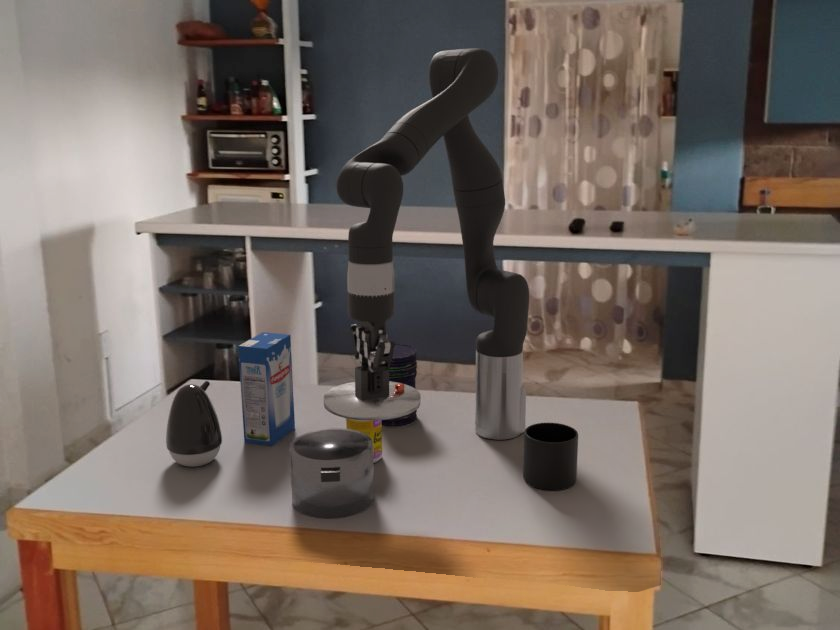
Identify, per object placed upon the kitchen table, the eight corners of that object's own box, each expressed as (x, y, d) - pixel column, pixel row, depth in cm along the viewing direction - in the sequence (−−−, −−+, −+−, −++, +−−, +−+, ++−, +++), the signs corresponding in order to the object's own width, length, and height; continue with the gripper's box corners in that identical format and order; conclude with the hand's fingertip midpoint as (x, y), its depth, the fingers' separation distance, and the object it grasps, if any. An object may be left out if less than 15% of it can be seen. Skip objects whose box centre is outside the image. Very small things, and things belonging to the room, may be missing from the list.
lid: (396, 382, 157) (395, 348, 156) (437, 410, 144) (437, 374, 142) (310, 395, 151) (309, 360, 149) (345, 426, 137) (344, 388, 135)
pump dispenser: (235, 455, 170) (230, 379, 166) (200, 476, 161) (194, 397, 157) (192, 446, 174) (186, 372, 170) (156, 467, 165) (149, 390, 161)
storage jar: (390, 406, 194) (388, 341, 190) (426, 416, 188) (426, 348, 184) (361, 420, 186) (359, 352, 182) (398, 431, 180) (397, 361, 176)
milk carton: (272, 446, 173) (266, 348, 168) (244, 442, 175) (237, 345, 170) (295, 427, 183) (290, 334, 177) (268, 424, 185) (262, 331, 179)
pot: (295, 477, 160) (292, 425, 157) (373, 474, 161) (371, 422, 158) (288, 525, 143) (285, 468, 140) (375, 521, 144) (374, 464, 141)
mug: (576, 464, 164) (578, 418, 162) (576, 493, 153) (578, 444, 151) (525, 460, 166) (526, 415, 164) (521, 489, 155) (522, 441, 152)
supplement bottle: (377, 467, 164) (376, 401, 161) (343, 464, 165) (340, 399, 162) (386, 452, 170) (384, 389, 167) (352, 449, 172) (350, 387, 168)
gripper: (410, 295, 138) (410, 400, 142) (375, 277, 150) (376, 375, 154) (366, 299, 135) (367, 407, 139) (333, 282, 147) (335, 381, 151)
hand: (372, 389), depth 147 cm, fingers closed on lid, 2 cm apart
